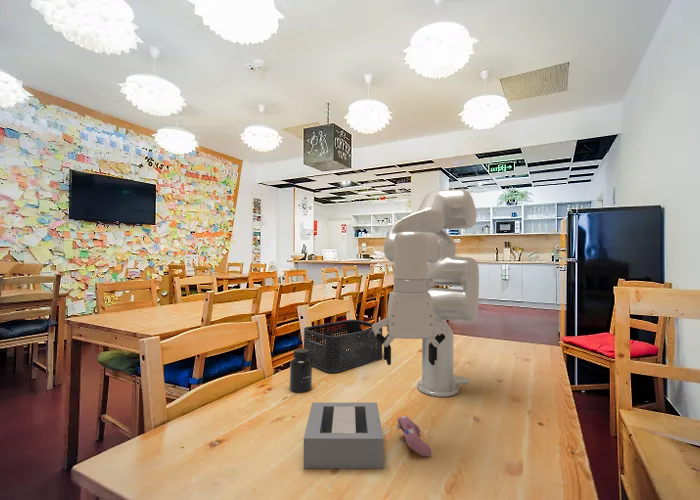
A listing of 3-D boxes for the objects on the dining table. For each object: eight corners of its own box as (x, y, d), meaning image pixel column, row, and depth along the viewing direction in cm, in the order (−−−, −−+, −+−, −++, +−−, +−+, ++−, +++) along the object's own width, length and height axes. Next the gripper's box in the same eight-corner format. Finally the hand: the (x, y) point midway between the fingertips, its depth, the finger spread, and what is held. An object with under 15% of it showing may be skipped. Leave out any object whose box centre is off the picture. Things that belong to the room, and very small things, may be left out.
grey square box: (376, 426, 85) (376, 402, 85) (383, 468, 69) (383, 438, 69) (312, 426, 85) (312, 402, 85) (303, 468, 69) (303, 438, 69)
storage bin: (353, 348, 152) (353, 318, 152) (386, 358, 138) (386, 325, 138) (299, 362, 133) (299, 327, 133) (331, 376, 119) (331, 337, 119)
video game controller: (404, 440, 82) (391, 414, 81) (420, 431, 82) (408, 405, 82) (415, 466, 72) (401, 437, 71) (434, 456, 72) (420, 427, 72)
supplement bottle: (307, 394, 103) (307, 354, 103) (286, 392, 105) (286, 353, 105) (314, 385, 110) (314, 348, 110) (294, 383, 112) (294, 346, 112)
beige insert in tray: (354, 411, 83) (354, 405, 83) (355, 441, 70) (355, 434, 70) (334, 411, 83) (334, 405, 83) (331, 441, 70) (331, 434, 70)
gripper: (444, 285, 80) (444, 358, 80) (370, 284, 80) (370, 357, 80) (454, 289, 73) (453, 369, 73) (372, 288, 73) (372, 368, 73)
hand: (410, 363), depth 77 cm, fingers open, 9 cm apart
